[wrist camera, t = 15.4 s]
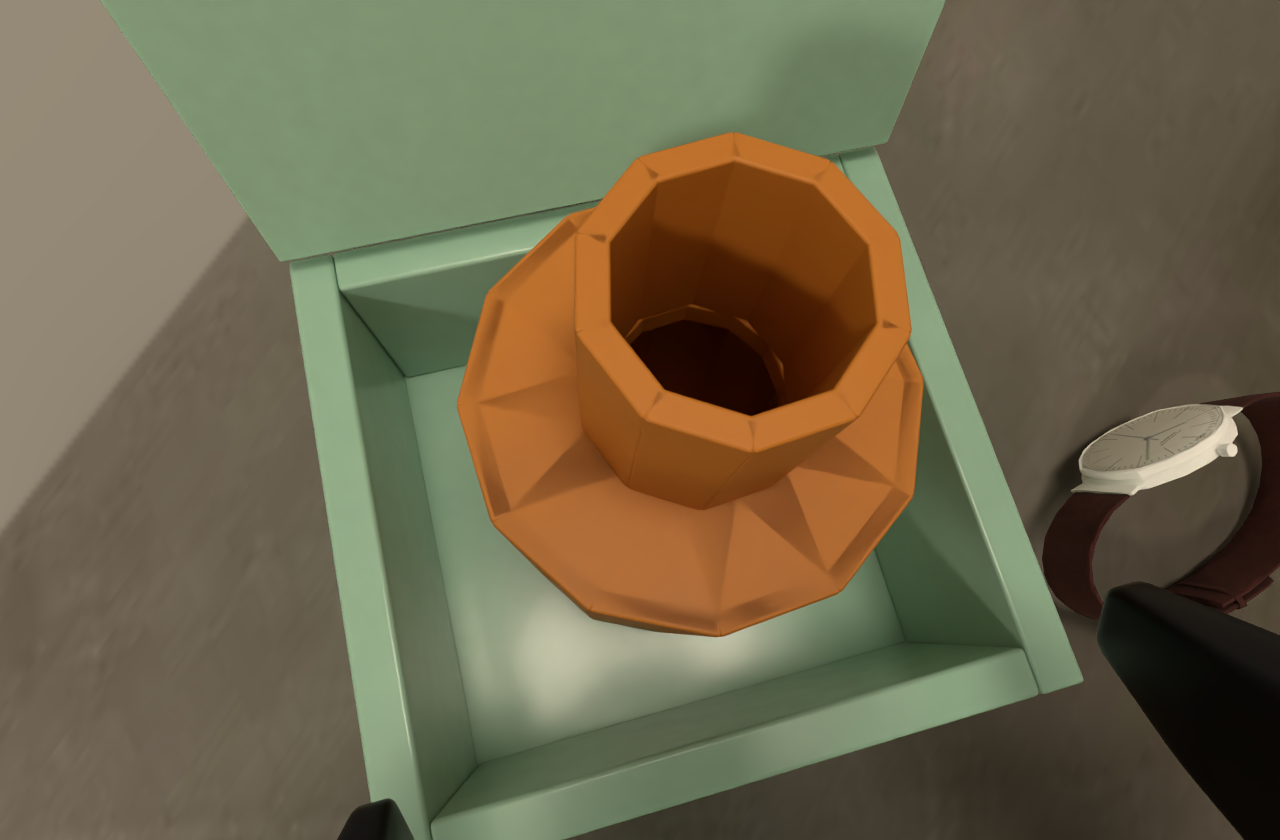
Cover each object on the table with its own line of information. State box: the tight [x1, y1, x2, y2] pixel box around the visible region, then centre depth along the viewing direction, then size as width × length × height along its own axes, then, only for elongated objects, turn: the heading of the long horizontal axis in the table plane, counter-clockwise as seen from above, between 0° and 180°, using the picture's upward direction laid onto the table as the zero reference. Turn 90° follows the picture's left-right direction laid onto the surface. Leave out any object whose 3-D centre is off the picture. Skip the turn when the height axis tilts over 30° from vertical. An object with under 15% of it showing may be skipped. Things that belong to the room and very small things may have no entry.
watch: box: [1042, 392, 1280, 620], centre depth 17 cm, size 8×5×4 cm, turn 124°
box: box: [289, 146, 1083, 840], centre depth 16 cm, size 11×12×6 cm
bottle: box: [457, 132, 924, 637], centre depth 12 cm, size 6×6×12 cm
